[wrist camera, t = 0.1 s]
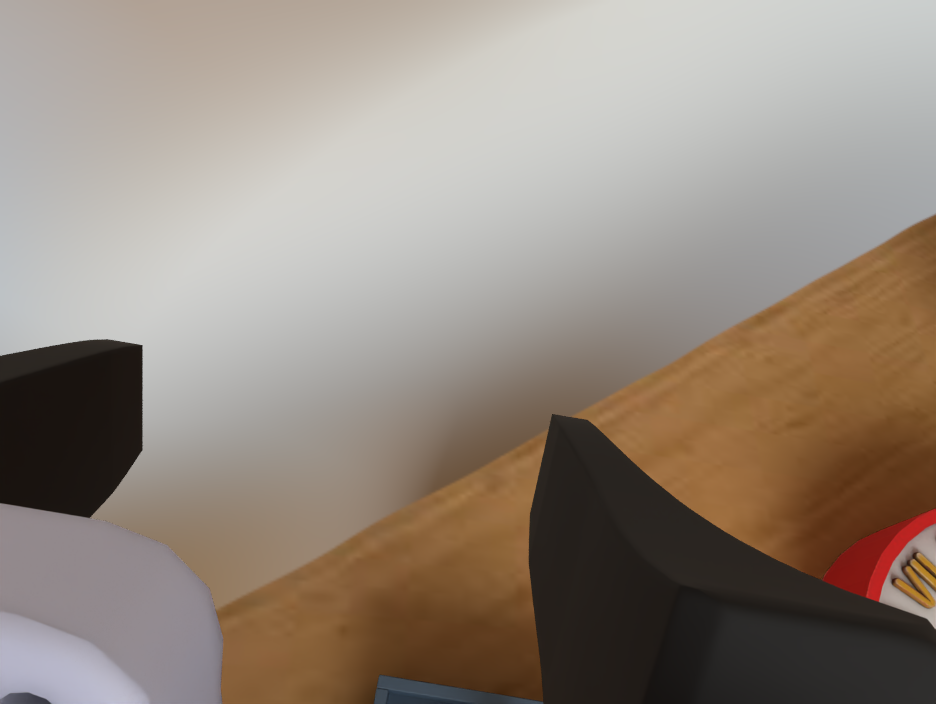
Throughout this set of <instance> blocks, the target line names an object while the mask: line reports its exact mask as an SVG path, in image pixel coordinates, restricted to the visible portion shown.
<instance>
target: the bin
mask: <svg viewBox="0 0 936 704" xmlns="http://www.w3.org/2000/svg"><path fill="white" fill-rule="evenodd" d="M374 704H543V701H536V700H530V699H524V698H518V697H512V696H506V695H500V694H494V693H488V692H482V691H476V690H470V689H464V688H458V687H452V686H446V685H440V684H434V683H427V682H421V681H415V680H409V679H403V678H397V677H391V676H385V675H379V678H378V683H377V689H376V694H375V699H374Z"/></svg>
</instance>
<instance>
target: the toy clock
mask: <svg viewBox="0 0 936 704" xmlns="http://www.w3.org/2000/svg"><path fill="white" fill-rule="evenodd" d="M822 581H825V582H827V583H829V584H832V585H834V586H836V587H839V588H841V589H844V590H846V591H849V592H852V593H854V594H857V595H860V596H863V597H866V598H869V599H872V600H875V601H878V602H880V603H883V604H886V605H889V606H892V607H895V608H898V609H901V610H904V611H907V612H909V613H912V614H915V615H918V616H921V617H924V618H926V619H928V620H929V622H930V623H931V624H932V625H933V627H934V628H935V629H936V508H935V509H933V510H930V511H928V512H925V513H923V514H920V515H918V516H915V517H913V518H910V519H908V520H905V521H903V522H900V523H898V524H895V525H893V526H890V527H888V528H885V529H883V530H880V531H878V532H876V533H874V534H871V535H869V536H867V537H865V538H863V539H861V540H859V541H857V542H856V543H855V544H853V545H852V546H851V547H850V548H848V549H847V550H846V551H845V552H843V553H842V554H841V555H840V556H839V557H838V558H837V560H836V561H835V562H834V563H833V565H832V566H831V567H830V568H829V570H828V571H827V572H826V573H825V575H824V577H823V579H822Z"/></svg>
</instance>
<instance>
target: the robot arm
mask: <svg viewBox="0 0 936 704" xmlns="http://www.w3.org/2000/svg"><path fill="white" fill-rule="evenodd" d="M141 451H142V345H138V344H132V343H125V342H120V341H114V340H108V339H106V340H87V341H79V342H73V343H66V344H60V345H55V346H49V347H44V348H39V349H33V350H29V351H23V352H18V353H13V354H7V355H2V356H0V704H222V696H221V674H222V654H223V636H222V632H221V629H220V625H219V621H218V617H217V614H216V610H215V606H214V603H213V599H212V596H211V592H210V589H209V588H208V587H207V585H206V584H205V583H204V582H203V581H201V580H200V578H199V577H198V576H197V575H196V574H195V573H194V572H193V571H192V570H191V569H190V568H189V567H188V566H187V565H186V564H185V563H184V562H183V561H182V560H181V559H180V558H179V557H178V556H177V555H176V554H175V553H174V552H173V551H172V550H171V549H170V548H169V547H168V546H167V545H166V544H163V543H161V542H158V541H156V540H153V539H150V538H148V537H145V536H143V535H140V534H138V533H135V532H133V531H130V530H128V529H125V528H123V527H120V526H118V525H115V524H113V523H110V522H107V521H104V520H97V519H92V518H90V517H91V516H92V515H93V514H94V513H95V511H96V510H97V509H98V508H99V507H100V506H101V505H102V504H103V503H104V502H105V501H106V499H108V498H109V496H110V495H111V494H112V493H113V492H114V490H115V489H116V488H117V486H118V485H119V484H120V482H121V481H122V479H123V478H124V477H125V475H126V474H127V472H128V471H129V469H130V468H131V466H132V465H133V463H134V462H135V460H136V459H137V457H138V456H139V454H140V453H141ZM529 569H530V578H531V587H532V596H533V605H534V613H535V621H536V630H537V638H538V647H539V655H540V663H541V673H542V687H543V704H936V629H935V628H934V627H933V625H932V624H931V623H930V622H929V620H928V619H926V618H924V617H921V616H918V615H915V614H912V613H909V612H907V611H904V610H901V609H898V608H895V607H892V606H889V605H886V604H883V603H880V602H878V601H875V600H872V599H869V598H866V597H863V596H860V595H857V594H854V593H852V592H849V591H846V590H844V589H841V588H839V587H836V586H834V585H832V584H829V583H827V582H825V581H822V580H820V579H817V578H815V577H813V576H810V575H808V574H806V573H803V572H801V571H799V570H797V569H795V568H792V567H790V566H788V565H786V564H784V563H782V562H780V561H778V560H776V559H774V558H772V557H770V556H768V555H766V554H764V553H762V552H760V551H759V550H757V549H755V548H753V547H751V546H749V545H747V544H745V543H744V542H742V541H740V540H738V539H736V538H735V537H733V536H731V535H730V534H728V533H726V532H724V531H723V530H721V529H720V528H718V527H716V526H715V525H713V524H712V523H710V522H709V521H707V520H706V519H704V518H703V517H701V516H700V515H698V514H697V513H695V512H694V511H692V510H691V509H689V508H688V507H687V506H685V505H684V504H683V503H681V502H680V501H679V500H677V499H676V498H675V497H673V496H672V495H671V494H670V493H668V492H667V491H666V490H665V489H664V488H662V487H661V486H660V485H659V484H657V483H656V482H655V481H654V480H653V479H651V478H650V477H649V476H648V475H647V474H646V473H644V472H643V471H642V470H641V469H640V468H639V467H638V466H637V465H636V464H634V463H633V462H632V461H631V460H630V459H629V458H628V457H627V456H626V455H625V454H624V453H623V452H622V451H621V450H620V449H619V448H618V447H617V446H615V445H614V444H613V443H612V442H611V441H610V440H609V439H608V438H607V437H606V436H605V435H604V434H603V433H602V432H601V431H600V430H599V429H598V428H597V427H595V426H594V425H593V424H592V423H591V422H589V421H588V420H584V419H578V418H572V417H566V416H560V415H554V414H552V417H551V422H550V426H549V431H548V436H547V440H546V445H545V449H544V454H543V458H542V463H541V467H540V472H539V476H538V481H537V485H536V490H535V494H534V499H533V503H532V508H531V512H530V529H529Z"/></svg>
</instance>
